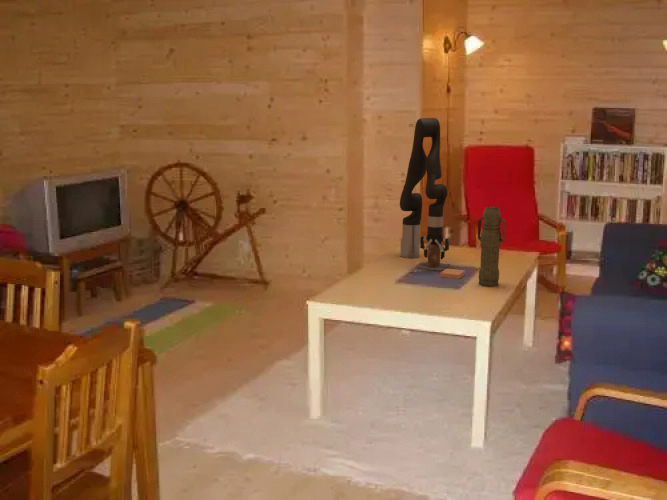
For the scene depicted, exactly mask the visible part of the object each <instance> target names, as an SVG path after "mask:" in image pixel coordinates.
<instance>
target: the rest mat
mask: <svg viewBox="0 0 667 500" xmlns="http://www.w3.org/2000/svg"><path fill="white" fill-rule="evenodd" d="M427 265H428V261H426V262H424V263H423V264H421V265H420V266H418V267H417V269H418V270H424V269H428V270H427V271H434V270H437V271H436V272H442V270H443V271H444V270H445V269H448V267H450V264H449V263H441V262H440V265H439V266H437V267H436V268H431V267H427Z"/></svg>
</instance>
